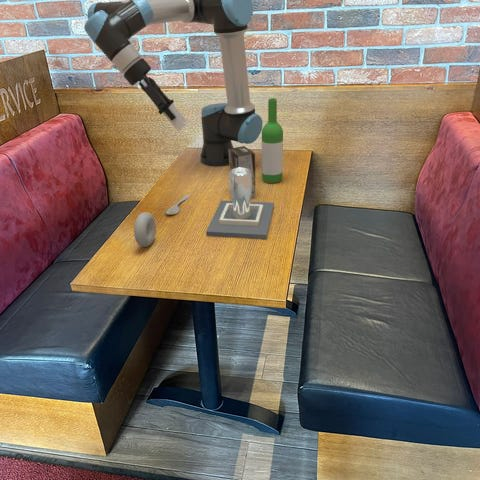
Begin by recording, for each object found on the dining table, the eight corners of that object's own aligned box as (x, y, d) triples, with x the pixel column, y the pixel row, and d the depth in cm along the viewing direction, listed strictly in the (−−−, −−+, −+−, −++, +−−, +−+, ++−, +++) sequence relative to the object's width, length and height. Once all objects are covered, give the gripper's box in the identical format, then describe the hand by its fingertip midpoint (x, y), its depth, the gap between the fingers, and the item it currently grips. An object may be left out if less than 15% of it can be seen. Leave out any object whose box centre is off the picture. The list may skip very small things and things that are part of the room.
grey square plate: (221, 204, 154) (220, 196, 152) (273, 206, 151) (273, 198, 149) (206, 235, 135) (205, 227, 134) (266, 239, 132) (266, 230, 131)
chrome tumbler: (250, 221, 139) (249, 175, 131) (228, 220, 140) (226, 174, 133) (254, 211, 145) (253, 167, 137) (233, 210, 146) (231, 166, 139)
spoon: (162, 217, 147) (162, 213, 147) (185, 192, 165) (185, 188, 164) (174, 218, 146) (174, 214, 146) (196, 193, 164) (195, 189, 163)
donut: (148, 235, 136) (144, 205, 131) (159, 236, 135) (155, 206, 130) (134, 253, 128) (129, 221, 123) (146, 254, 127) (141, 222, 122)
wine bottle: (279, 185, 167) (280, 102, 152) (259, 182, 169) (258, 101, 154) (284, 177, 173) (286, 97, 158) (265, 175, 175) (265, 96, 160)
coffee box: (256, 197, 158) (255, 153, 150) (239, 201, 156) (238, 156, 148) (245, 188, 165) (244, 145, 157) (229, 191, 163) (227, 148, 155)
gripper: (128, 74, 139) (175, 129, 145) (114, 74, 115) (171, 139, 122) (146, 58, 138) (193, 113, 144) (136, 54, 114) (192, 121, 121)
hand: (183, 125), depth 133 cm, fingers open, 13 cm apart
